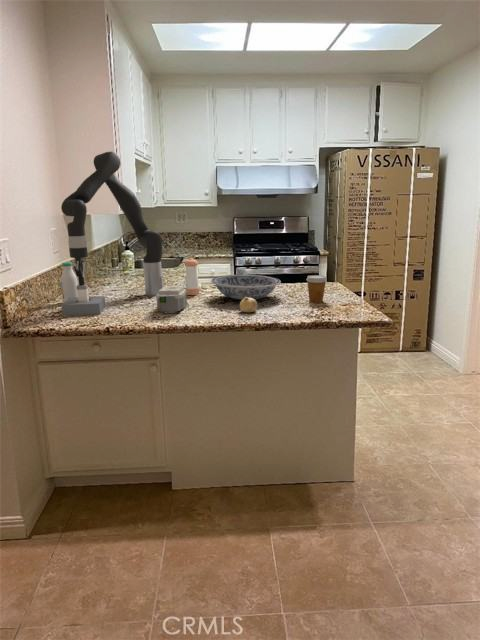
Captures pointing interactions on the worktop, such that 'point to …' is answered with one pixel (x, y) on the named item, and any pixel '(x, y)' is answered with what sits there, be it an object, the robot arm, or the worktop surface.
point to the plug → (82, 293)
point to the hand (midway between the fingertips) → (81, 285)
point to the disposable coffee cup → (316, 288)
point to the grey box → (171, 299)
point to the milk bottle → (68, 282)
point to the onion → (248, 305)
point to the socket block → (83, 306)
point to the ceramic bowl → (245, 286)
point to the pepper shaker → (191, 277)
